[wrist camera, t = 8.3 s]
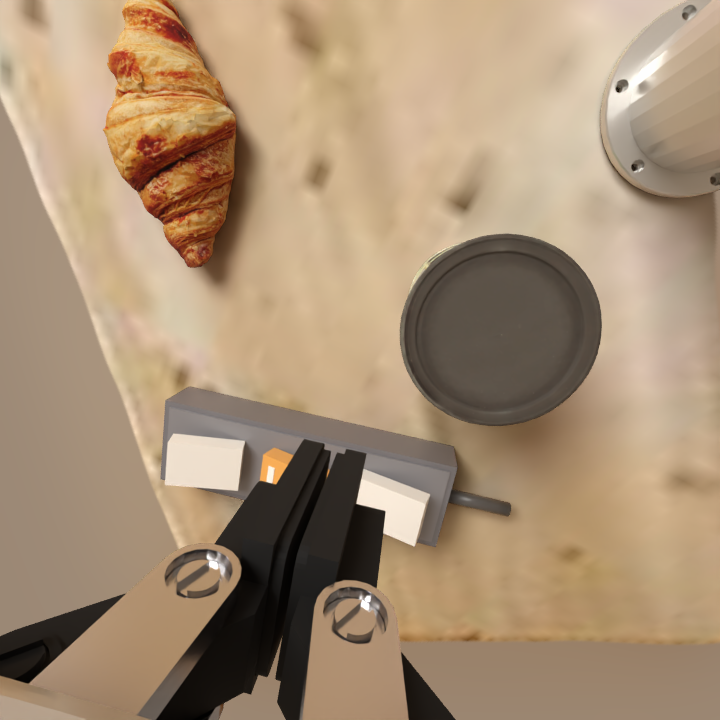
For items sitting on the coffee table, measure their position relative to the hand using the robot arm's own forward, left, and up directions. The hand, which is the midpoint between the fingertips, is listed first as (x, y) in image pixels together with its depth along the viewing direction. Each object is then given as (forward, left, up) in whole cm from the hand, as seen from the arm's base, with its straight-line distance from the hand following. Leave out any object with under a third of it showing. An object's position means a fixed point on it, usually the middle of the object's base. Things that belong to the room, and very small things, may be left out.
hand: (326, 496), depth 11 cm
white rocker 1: (+13, +14, -21) cm, 29 cm away
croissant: (+20, -12, -28) cm, 36 cm away
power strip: (+2, +14, -27) cm, 31 cm away
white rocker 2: (-3, +14, -21) cm, 26 cm away
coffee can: (-6, -3, -27) cm, 28 cm away
